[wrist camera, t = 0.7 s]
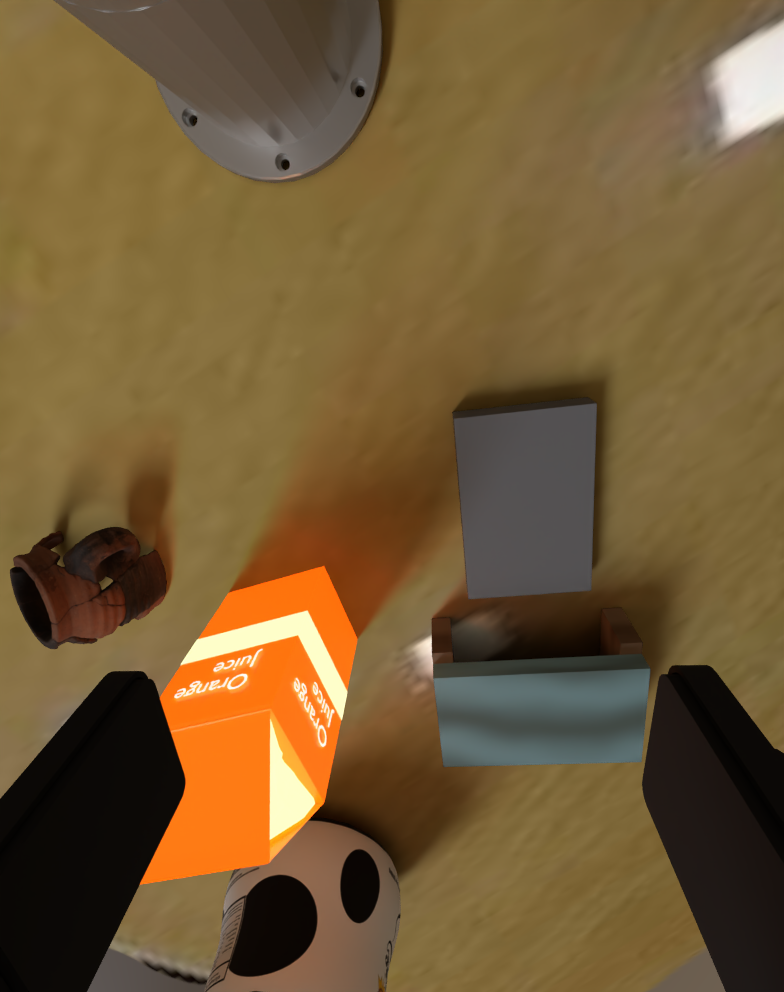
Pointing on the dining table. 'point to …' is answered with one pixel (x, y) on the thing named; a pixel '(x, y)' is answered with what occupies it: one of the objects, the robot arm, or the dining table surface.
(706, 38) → the dining table surface
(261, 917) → the milk container
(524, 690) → the shelf dock
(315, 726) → the orange juice
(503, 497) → the slate tile
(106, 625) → the pottery mug
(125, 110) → the dining table surface
